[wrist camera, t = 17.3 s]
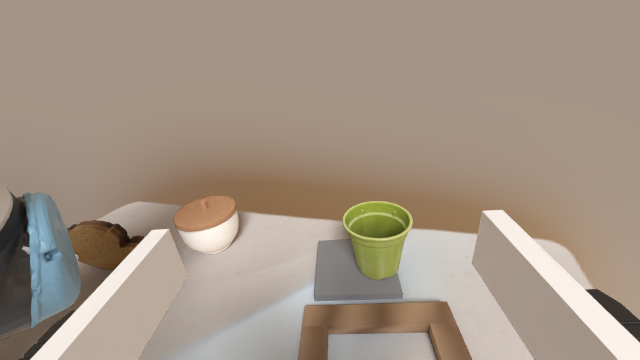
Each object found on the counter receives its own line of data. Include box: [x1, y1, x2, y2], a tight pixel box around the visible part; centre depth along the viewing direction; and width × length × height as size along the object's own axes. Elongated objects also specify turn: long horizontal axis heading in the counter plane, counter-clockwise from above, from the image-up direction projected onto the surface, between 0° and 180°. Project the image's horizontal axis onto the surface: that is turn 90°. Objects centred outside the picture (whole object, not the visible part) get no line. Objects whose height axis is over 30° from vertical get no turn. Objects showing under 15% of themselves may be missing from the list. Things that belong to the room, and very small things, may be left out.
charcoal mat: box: [314, 239, 403, 301], centre depth 43 cm, size 12×12×1 cm
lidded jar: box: [173, 195, 239, 255], centre depth 51 cm, size 11×11×9 cm
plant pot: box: [343, 201, 412, 280], centre depth 40 cm, size 9×9×9 cm
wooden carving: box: [67, 220, 145, 270], centre depth 48 cm, size 16×5×10 cm, turn 87°
